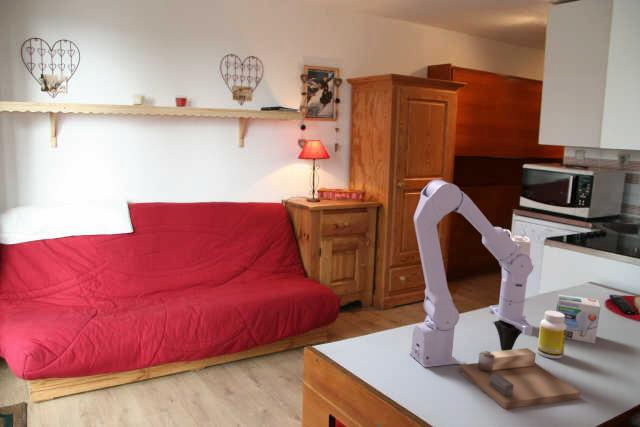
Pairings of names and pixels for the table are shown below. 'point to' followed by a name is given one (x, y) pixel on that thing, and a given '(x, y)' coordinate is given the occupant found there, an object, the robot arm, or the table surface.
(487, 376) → the stool seat
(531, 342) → the table surface
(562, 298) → the light bulb box
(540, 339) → the pill bottle
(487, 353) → the folding leg
